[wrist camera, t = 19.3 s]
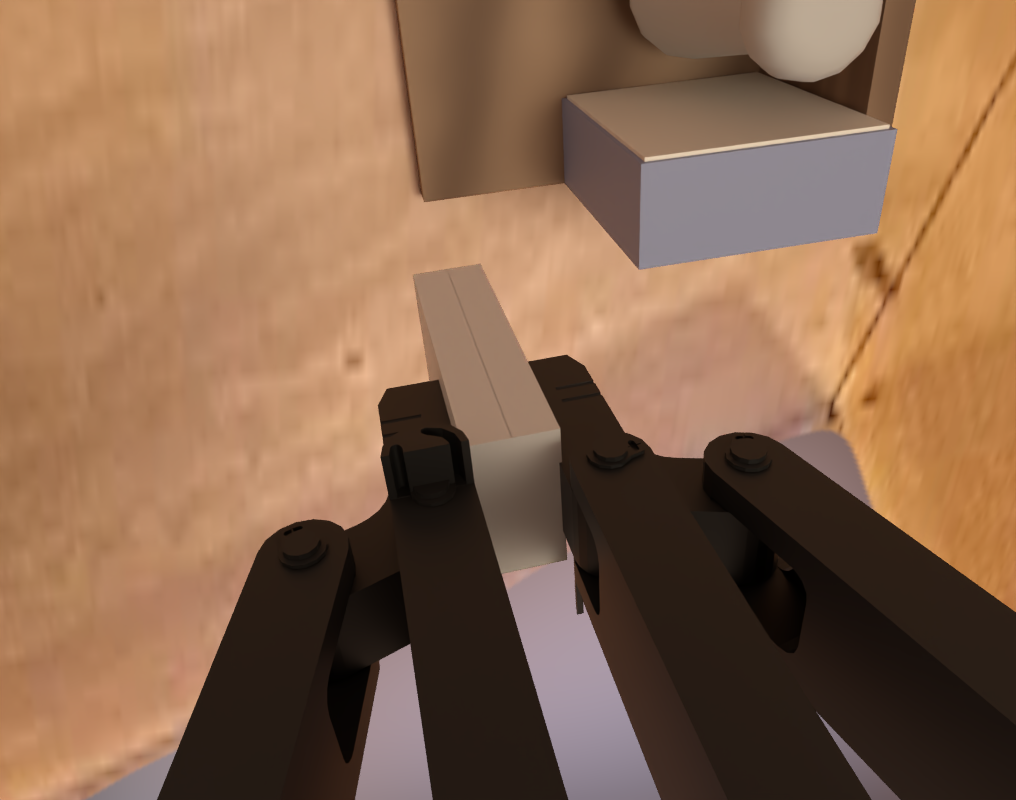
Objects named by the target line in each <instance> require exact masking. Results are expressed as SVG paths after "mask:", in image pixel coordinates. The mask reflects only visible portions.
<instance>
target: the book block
mask: <svg viewBox="0 0 1016 800" xmlns="http://www.w3.org/2000/svg"><path fill="white" fill-rule="evenodd" d="M562 119H563V149H564V178H565V184H566V185H567V186H568V187H569V189H570V190H571V191H572V192H573V193H574V194H575V196H576V197H577V198H578V199H579V200H580V201H581V203H582V204H583V205H584V206H585V207H586V208H587V210H588V211H589V212H590V213H591V214H592V215H593V217H594V218H595V219H596V220H597V221H598V222H599V224H600V225H601V226H602V227H603V228H604V229H605V231H606V232H607V233H608V234H609V235H610V236H611V238H612V239H613V240H614V241H615V242H616V243H617V245H618V246H619V247H620V248H621V249H622V250H623V252H624V253H625V254H626V255H627V256H628V257H629V259H630V260H631V261H632V262H633V263H634V264H635V266H636V267H637V268H638V269H639V270H640V269H647V268H653V267H660V266H666V265H673V264H679V263H686V262H692V261H699V260H705V259H712V258H718V257H725V256H731V255H738V254H744V253H751V252H757V251H764V250H770V249H777V248H783V247H790V246H796V245H803V244H809V243H816V242H822V241H829V240H835V239H842V238H848V237H855V236H861V235H868V234H874V233H877V231H878V226H879V221H880V216H881V211H882V206H883V200H884V195H885V190H886V185H887V180H888V175H889V170H890V164H891V159H892V154H893V149H894V144H895V139H896V134H897V129H895V128H893V127H890V124H887V123H885V122H882V121H880V120H877V119H875V118H872V117H870V116H867V115H865V114H862V113H860V112H857V111H855V110H852V109H850V108H847V107H845V106H842V105H840V104H837V103H834V102H832V101H829V100H827V99H824V98H822V97H819V96H817V95H814V94H812V93H809V92H807V91H804V90H802V89H799V88H797V87H794V86H792V85H789V84H787V83H784V82H781V81H779V80H776V79H774V78H771V77H769V76H766V75H764V74H761V73H759V72H753V73H744V74H736V75H728V76H720V77H712V78H704V79H696V80H688V81H680V82H671V83H663V84H655V85H647V86H639V87H631V88H623V89H615V90H607V91H599V92H590V93H582V94H574V95H567V98H562Z"/></svg>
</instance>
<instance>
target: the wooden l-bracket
mask: <svg viewBox="0 0 1016 800" xmlns="http://www.w3.org/2000/svg"><path fill="white" fill-rule="evenodd" d="M915 2H916V0H883V4H882V10H881V16H880V22H879V24H878V26H877V28H876V29H875V31H874V33H873V35H872V36H871V38H870V40H869V42H868V44H867V45H866V47H865V49H864V51H863V52H862V53H861V54H860V55H859V56H857V57H856V58H855V59H854V60H853V61H852V62H851V63H850V64H849V65H848V66H847V67H846V68H845V69H843V70H842V71H841V72H840V73H838V74H835V75H832V76H829V77H827V78H824V79H821V80H818V81H815V82H800V81H792V80H784V79H777V78H775V77H773V76H771V75H770V74H768V73H767V72H766V71H765V70H764V69H762V68H761V67H760V66H759V65H758V64H757V63H756V62H755V61H753V60H752V59H751V58H750V57H749V55H748V54H746V55H734V56H722V57H710V58H698V59H691V58H684V57H676V56H669V55H666V54H665V53H663V52H662V51H661V50H660V49H658V48H657V47H656V46H655V45H654V44H652V43H651V42H650V41H649V40H647V39H646V38H645V37H644V36H643V35H642V34H641V32H640V29H639V27H638V25H637V22H636V20H635V18H634V15H633V13H632V10H631V8H630V0H395V3H396V10H397V18H398V25H399V32H400V40H401V47H402V54H403V62H404V69H405V76H406V84H407V91H408V98H409V106H410V113H411V120H412V128H413V135H414V142H415V150H416V157H417V164H418V172H419V179H420V186H421V194H422V197H423V200H424V202H429V201H437V200H444V199H451V198H458V197H466V196H473V195H480V194H488V193H495V192H502V191H509V190H517V189H524V188H531V187H538V186H546V185H553V184H560V183H565V178H564V149H563V119H562V98H567V95H574V94H582V93H590V92H599V91H607V90H615V89H623V88H631V87H639V86H647V85H655V84H663V83H671V82H680V81H688V80H696V79H704V78H712V77H720V76H728V75H736V74H744V73H753V72H759V73H761V74H764V75H766V76H769V77H771V78H774V79H776V80H779V81H781V82H784V83H787V84H789V85H792V86H794V87H797V88H799V89H802V90H804V91H807V92H809V93H812V94H814V95H817V96H819V97H822V98H824V99H827V100H829V101H832V102H834V103H837V104H840V105H842V106H845V107H847V108H850V109H852V110H855V111H857V112H860V113H862V114H865V115H867V116H870V117H872V118H875V119H877V120H880V121H882V122H885V123H887V124H890V127H892V123H893V118H894V113H895V107H896V102H897V97H898V92H899V86H900V81H901V76H902V71H903V65H904V60H905V55H906V50H907V44H908V39H909V34H910V29H911V23H912V18H913V13H914V8H915Z"/></svg>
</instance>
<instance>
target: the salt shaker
mask: <svg viewBox="0 0 1016 800" xmlns="http://www.w3.org/2000/svg"><path fill="white" fill-rule="evenodd" d="M882 4H883V0H630V8H631V10H632V13H633V15H634V18H635V20H636V22H637V25H638V27H639V29H640V32H641V34H642V35H643V36H644V37H645V38H646V39H647V40H649V41H650V42H651V43H652V44H654V45H655V46H656V47H657V48H658V49H660V50H661V51H662V52H663V53H665V54H666V55H669V56H676V57H684V58H691V59H698V58H710V57H722V56H734V55H746V54H748V55H749V57H750V58H751V59H752V60H753V61H755V62H756V63H757V64H758V65H759V66H760V67H761V68H762V69H764V70H765V71H766V72H767V73H768V74H770V75H771V76H773V77H775V78H777V79H784V80H792V81H800V82H815V81H818V80H821V79H824V78H827V77H829V76H832V75H835V74H838V73H840V72H841V71H842V70H843V69H845V68H846V67H847V66H848V65H849V64H850V63H851V62H852V61H853V60H854V59H855V58H856V57H857V56H859V55H860V54H861V53H862V52H863V51H864V49H865V47H866V45H867V44H868V42H869V40H870V38H871V36H872V35H873V33H874V31H875V29H876V28H877V26H878V24H879V22H880V16H881V10H882Z"/></svg>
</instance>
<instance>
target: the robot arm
mask: <svg viewBox="0 0 1016 800" xmlns="http://www.w3.org/2000/svg"><path fill="white" fill-rule="evenodd" d="M413 279H414V285H415V292H416V298H417V304H418V311H419V317H420V323H421V330H422V336H423V343H424V349H425V355H426V362H427V368H428V374H429V381H428V382H423V383H417V384H411V385H406V386H400V387H395V388H389V389H387V390H386V391H385V393H384V395H383V397H382V399H381V401H380V403H379V404H378V409H379V416H380V423H381V430H382V436H383V444H384V445H383V447H382V452H381V461H382V466H383V471H384V476H385V480H386V485H387V490H388V497H387V500H386V502H385V503H384V505H383V506H382V507H381V508H380V510H379V511H378V512H376V513H375V514H374V515H373V516H371V517H370V518H369V519H367V520H365V521H363V522H362V523H360V524H358V525H356V526H354V527H351V528H349V529H347V530H345V531H344V529H343V528H342V527H341V526H339V525H337V524H335V523H333V522H331V521H326V520H316V519H312V520H306V521H301V522H296V523H293V524H291V525H289V526H286V527H284V528H282V529H280V530H278V531H277V532H276V533H274V534H273V535H272V536H271V537H269V538H268V539H267V540H266V541H265V542H264V544H263V545H262V547H261V548H260V550H259V551H258V553H257V555H256V558H255V560H254V563H253V565H252V568H251V570H250V572H249V575H248V577H247V580H246V582H245V585H244V587H243V590H242V592H241V595H240V597H239V599H238V602H237V604H236V607H235V609H234V612H233V614H232V617H231V619H230V622H229V624H228V627H227V629H226V631H225V634H224V636H223V639H222V641H221V644H220V646H219V649H218V651H217V654H216V656H215V659H214V661H213V663H212V666H211V668H210V671H209V673H208V676H207V678H206V681H205V683H204V686H203V688H202V690H201V693H200V695H199V698H198V700H197V703H196V705H195V708H194V710H193V713H192V715H191V718H190V720H189V722H188V725H187V727H186V730H185V732H184V735H183V737H182V740H181V742H180V745H179V747H178V750H177V752H176V754H175V757H174V760H173V762H172V764H171V767H170V769H169V772H168V774H167V777H166V779H165V781H164V784H163V787H162V789H161V791H160V794H159V796H158V799H157V800H355V796H356V790H357V785H358V780H359V775H360V769H361V764H362V759H363V754H364V748H365V743H366V738H367V733H368V727H369V722H370V717H371V711H372V706H373V701H374V695H375V690H376V686H377V680H378V675H379V670H380V666H379V660H380V659H382V658H384V657H386V656H388V655H390V654H392V653H394V652H395V651H397V650H399V649H401V648H403V647H405V646H407V645H409V644H411V651H412V658H413V665H414V672H415V679H416V686H417V693H418V700H419V707H420V714H421V720H422V728H423V734H424V741H425V748H426V755H427V762H428V769H429V776H430V783H431V790H432V797H433V800H568V797H567V794H566V791H565V787H564V784H563V780H562V777H561V774H560V770H559V767H558V763H557V760H556V757H555V753H554V750H553V746H552V743H551V740H550V736H549V733H548V730H547V726H546V723H545V720H544V716H543V713H542V709H541V706H540V703H539V699H538V696H537V692H536V689H535V686H534V682H533V679H532V676H531V672H530V669H529V665H528V662H527V659H526V655H525V652H524V648H523V645H522V642H521V638H520V635H519V632H518V628H517V625H516V622H515V618H514V615H513V612H512V608H511V604H510V601H509V598H508V594H507V591H506V587H505V584H504V581H503V577H502V574H503V573H508V572H513V571H517V570H522V569H526V568H531V567H536V566H540V565H545V564H550V563H554V562H559V561H563V560H567V548H566V539H567V542H568V544H569V546H570V549H571V551H572V553H573V556H574V571H575V572H574V573H575V593H576V609H577V614H582V613H584V612H583V602H584V605H585V607H586V610H587V612H588V615H589V617H590V620H591V622H592V625H593V628H594V630H595V633H596V635H597V638H598V640H599V643H600V645H601V648H602V650H603V653H604V656H605V658H606V660H607V663H608V666H609V668H610V671H611V673H612V676H613V678H614V681H615V683H616V686H617V688H618V691H619V694H620V696H621V698H622V701H623V704H624V706H625V709H626V711H627V714H628V716H629V719H630V722H631V724H632V727H633V729H634V732H635V734H636V737H637V739H638V742H639V744H640V747H641V749H642V752H643V754H644V757H645V760H646V762H647V765H648V767H649V770H650V772H651V775H652V777H653V780H654V782H655V785H656V788H657V790H658V793H659V795H660V798H661V800H871V798H870V797H869V795H868V793H867V792H866V790H865V789H864V787H863V785H862V784H861V782H860V781H859V779H858V777H857V776H856V774H855V773H854V771H853V769H852V768H851V766H850V765H849V763H848V762H847V760H846V758H845V757H844V755H843V754H842V752H841V750H840V749H839V747H838V746H837V744H836V742H835V741H834V739H833V738H832V736H831V735H830V733H829V732H828V730H827V728H826V727H825V725H824V723H823V722H822V720H821V719H820V717H819V715H820V716H821V717H822V718H823V719H824V720H825V721H826V722H827V723H828V724H829V725H830V726H831V727H832V728H833V730H834V731H835V732H836V733H837V734H838V735H839V736H840V737H841V738H842V739H843V740H844V741H845V742H846V743H847V744H848V745H849V746H850V747H851V748H852V749H853V750H854V751H855V752H856V753H857V755H858V756H859V757H860V758H861V759H862V760H863V761H864V762H865V763H866V764H867V765H868V766H869V767H870V768H871V769H872V770H873V771H874V772H875V773H876V774H877V775H878V776H879V777H880V779H881V780H882V781H883V782H884V783H886V785H887V786H888V787H889V788H890V789H891V790H892V791H893V792H894V793H895V794H896V795H897V796H898V797H899V798H900V799H901V800H1016V612H1014V611H1013V610H1012V609H1010V608H1009V607H1008V606H1006V605H1005V604H1003V603H1002V602H1001V601H999V600H998V599H996V598H995V597H994V596H992V595H991V594H990V593H988V592H987V591H985V590H984V589H983V588H981V587H980V586H978V585H977V584H976V583H974V582H973V581H971V580H970V579H969V578H967V577H966V576H965V575H963V574H962V573H960V572H959V571H958V570H956V569H955V568H953V567H952V566H951V565H949V564H948V563H946V562H945V561H944V560H942V559H941V558H940V557H938V556H937V555H935V554H934V553H933V552H931V551H930V550H928V549H927V548H926V547H924V546H923V545H921V544H920V543H919V542H917V541H916V540H915V539H913V538H912V537H910V536H909V535H908V534H906V533H905V532H903V531H902V530H901V529H899V528H898V527H896V526H895V525H894V524H892V523H891V522H890V521H888V520H887V519H885V518H884V517H883V516H881V515H880V514H878V513H877V512H876V511H874V510H873V509H871V508H870V507H869V506H867V505H866V504H865V503H863V502H862V501H860V500H859V499H858V498H856V497H855V496H853V495H852V494H851V493H849V492H848V491H846V490H845V489H843V488H842V487H841V486H840V485H838V484H837V483H835V482H834V481H832V480H831V479H830V478H828V477H827V476H826V475H824V474H823V473H821V472H820V471H819V470H817V469H816V468H815V467H813V466H812V465H810V464H809V463H808V462H806V461H805V460H803V459H802V458H801V457H799V456H798V455H796V454H795V453H794V452H792V451H791V450H790V449H788V448H787V447H785V446H784V445H783V444H781V443H779V442H777V441H775V440H773V439H771V438H770V437H767V436H763V435H759V434H755V433H738V432H735V433H730V434H726V435H722V436H719V437H717V438H716V439H714V440H712V441H711V442H709V444H708V446H707V447H706V449H705V451H704V459H702V458H671V457H663V456H659V455H655V454H654V453H653V451H652V450H651V448H650V447H649V446H648V445H647V444H646V443H645V442H644V441H643V440H642V439H640V438H638V437H635V436H633V435H631V434H628V433H625V432H624V431H623V429H622V427H621V426H620V424H619V422H618V421H617V419H616V417H615V416H614V414H613V412H612V411H611V409H610V407H609V406H608V404H607V402H606V401H605V399H604V397H603V396H602V395H601V394H600V391H599V389H598V388H597V386H596V384H595V383H594V382H593V379H592V378H591V376H590V374H589V373H588V371H587V369H586V368H585V366H584V365H582V364H581V363H579V362H577V361H576V360H574V359H572V358H571V357H569V356H568V355H562V356H557V357H551V358H546V359H540V360H535V361H529V362H528V361H527V359H526V357H525V355H524V353H523V351H522V349H521V347H520V344H519V342H518V340H517V338H516V336H515V334H514V332H513V330H512V328H511V326H510V324H509V322H508V320H507V318H506V316H505V314H504V311H503V309H502V307H501V305H500V303H499V301H498V299H497V297H496V295H495V293H494V291H493V289H492V287H491V285H490V283H489V281H488V278H487V276H486V274H485V272H484V270H483V268H482V266H481V264H476V265H470V266H464V267H458V268H451V269H445V270H439V271H433V272H427V273H420V274H414V275H413ZM817 713H818V714H819V715H818V714H817Z"/></svg>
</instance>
